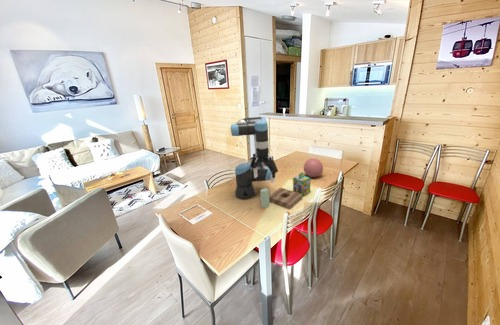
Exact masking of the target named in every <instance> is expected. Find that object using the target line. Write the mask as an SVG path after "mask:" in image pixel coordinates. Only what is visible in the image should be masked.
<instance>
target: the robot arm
mask: <svg viewBox="0 0 500 325" xmlns="http://www.w3.org/2000/svg"><path fill="white" fill-rule="evenodd" d="M267 121H268V120H267V119H266V117H265V116H256V117H245V118H241V119H239V120H238V121H237V122H236V123H233V124H230V134H231V136H232V137H239V136H253V140H254V141H253V142H254V143H253V145H254V153H253V154H252V159H251V162H250V163H249V162H244V163H243V162H242V163H240V164H237V165H236V167H235V169H234V170H235V172H234V173H235V182H236V187H235V190H234V191H235V192H234V195H235V197H236V198H237V199H239V200H248V199H249V200H250V199H252V198H253V197H255V196H256V189H255V186H254V184H253V183H254V182H266V181H270V183H271V184H273V183H275V178H276V174H277V173H278V172H279V170H278V168H277V165H276V163H275V161H274V160H275V159H274V156H273V155H272V156H269V153H270V150H269V147H270V145H269V126H268V125H269V124H268V122H267Z"/></svg>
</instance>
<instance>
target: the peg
mask: <svg viewBox="0 0 500 325" xmlns="http://www.w3.org/2000/svg"><path fill="white" fill-rule="evenodd" d="M259 191H260V192H259V194H260V206H261V208H263V209H267V208H270V206H271V205H270V204H271V202H269V195H270V189H267V188H265V187H263V188H262V189H260V190H259Z"/></svg>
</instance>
